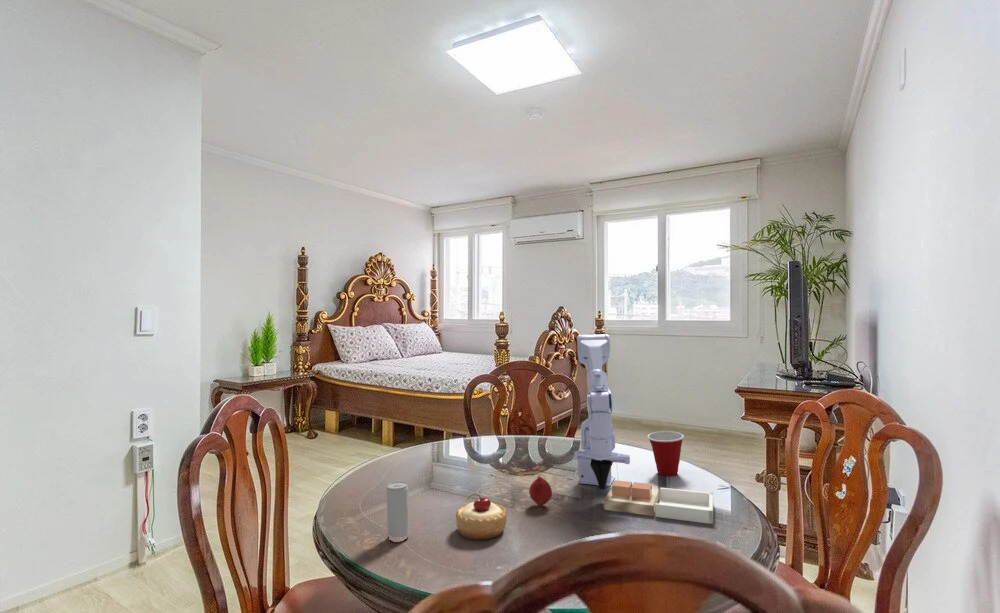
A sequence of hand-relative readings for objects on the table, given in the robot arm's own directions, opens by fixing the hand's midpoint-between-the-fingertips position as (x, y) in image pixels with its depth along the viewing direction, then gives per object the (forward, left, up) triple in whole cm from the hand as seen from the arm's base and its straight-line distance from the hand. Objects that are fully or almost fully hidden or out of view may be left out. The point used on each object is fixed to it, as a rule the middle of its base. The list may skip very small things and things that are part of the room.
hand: (602, 488), depth 129 cm
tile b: (+10, 0, -1) cm, 10 cm away
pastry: (-22, -28, -3) cm, 36 cm away
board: (+8, 0, -3) cm, 8 cm away
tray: (+20, 0, -3) cm, 20 cm away
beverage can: (-38, -38, -3) cm, 54 cm away
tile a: (+5, 0, -1) cm, 5 cm away
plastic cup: (+14, +29, -3) cm, 32 cm away
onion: (-14, -9, -3) cm, 17 cm away
